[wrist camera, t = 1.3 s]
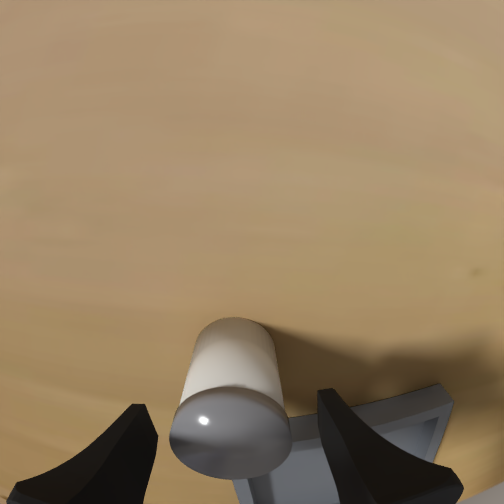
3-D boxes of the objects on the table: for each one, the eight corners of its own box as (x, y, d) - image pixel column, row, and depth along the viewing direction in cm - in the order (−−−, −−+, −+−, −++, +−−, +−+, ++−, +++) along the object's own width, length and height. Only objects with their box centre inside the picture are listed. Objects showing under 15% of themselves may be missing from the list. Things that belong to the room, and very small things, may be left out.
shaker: (201, 388, 18) (186, 480, 11) (185, 319, 17) (154, 407, 10) (280, 380, 18) (294, 474, 11) (272, 310, 17) (289, 397, 10)
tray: (249, 513, 22) (250, 532, 20) (224, 424, 19) (222, 448, 16) (408, 482, 22) (415, 498, 20) (439, 383, 18) (454, 401, 16)
